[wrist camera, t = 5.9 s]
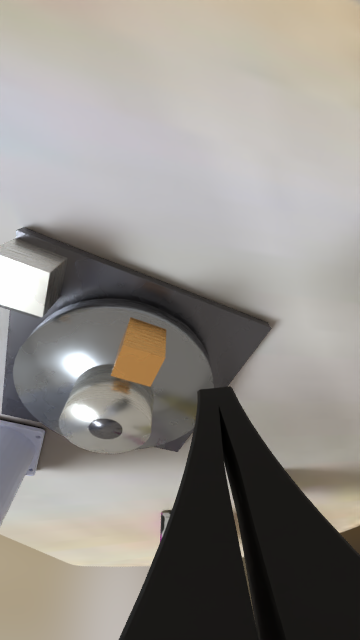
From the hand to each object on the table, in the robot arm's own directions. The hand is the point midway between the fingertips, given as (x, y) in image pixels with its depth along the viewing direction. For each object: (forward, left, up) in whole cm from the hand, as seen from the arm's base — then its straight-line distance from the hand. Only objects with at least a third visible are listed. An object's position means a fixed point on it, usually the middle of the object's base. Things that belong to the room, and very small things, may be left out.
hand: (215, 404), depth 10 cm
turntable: (-9, +3, -8) cm, 12 cm away
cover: (-8, +3, -6) cm, 11 cm away
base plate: (-9, +3, -9) cm, 13 cm away
